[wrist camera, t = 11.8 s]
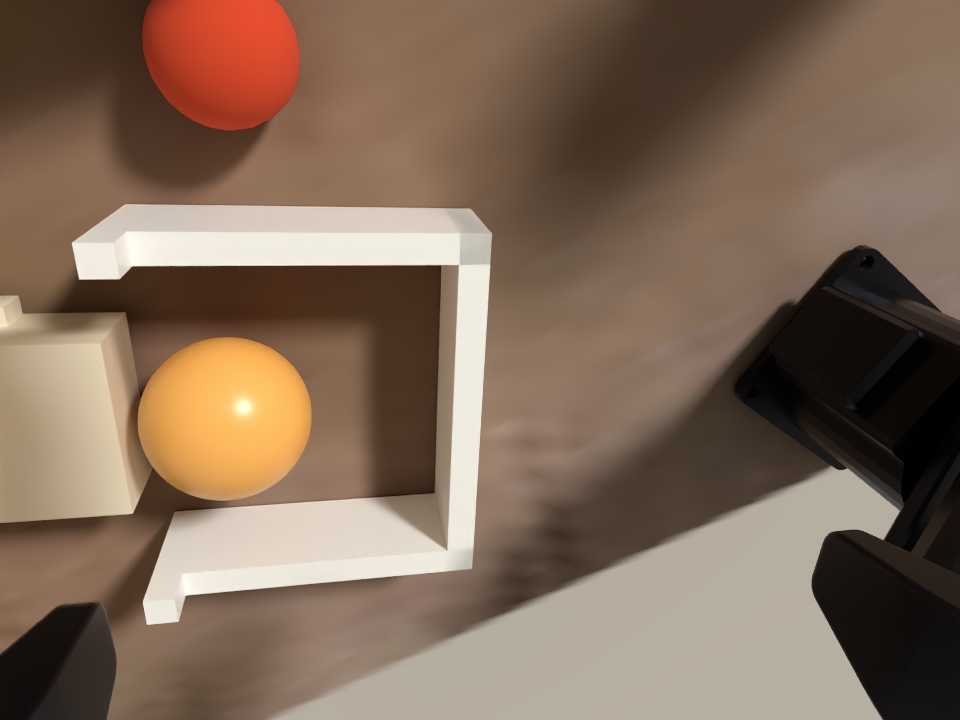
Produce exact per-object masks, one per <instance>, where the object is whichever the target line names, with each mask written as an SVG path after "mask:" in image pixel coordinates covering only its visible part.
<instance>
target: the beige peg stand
mask: <svg viewBox="0 0 960 720" xmlns="http://www.w3.org/2000/svg"><path fill="white" fill-rule="evenodd" d="M140 401H141V398H140V393H139V387H138V381H137V375H136V369H135V363H134V358H133V352H132V346H131V340H130V334H129V328H128V322H127V317H126V312H103V313H40V314H23V313H22V308H21V304H20V300H19V296H0V523H8V522H22V521H37V520H51V519H65V518H80V517H94V516H108V515H123V514H133V512H134V510H135V508H136V505H137V503H138V501H139V499H140V496H141V494H142V492H143V490H144V487H145V485H146V483H147V481H148V478H149V476H150V474H151V471H152V465H151V464H150V462H149V461H148V459H147V457H146V455H145V453H144V451H143V448H142V445H141V442H140V438H139V433H138V410H139V405H140Z"/></svg>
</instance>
